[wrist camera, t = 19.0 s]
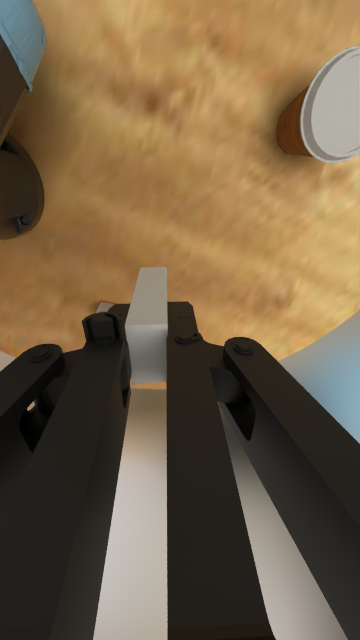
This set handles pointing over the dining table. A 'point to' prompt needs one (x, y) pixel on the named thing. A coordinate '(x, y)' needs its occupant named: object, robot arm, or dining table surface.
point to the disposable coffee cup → (326, 113)
